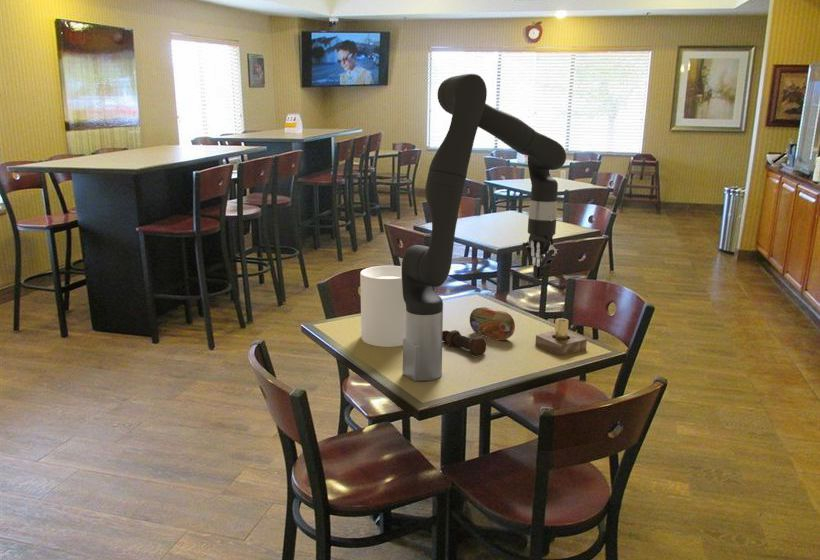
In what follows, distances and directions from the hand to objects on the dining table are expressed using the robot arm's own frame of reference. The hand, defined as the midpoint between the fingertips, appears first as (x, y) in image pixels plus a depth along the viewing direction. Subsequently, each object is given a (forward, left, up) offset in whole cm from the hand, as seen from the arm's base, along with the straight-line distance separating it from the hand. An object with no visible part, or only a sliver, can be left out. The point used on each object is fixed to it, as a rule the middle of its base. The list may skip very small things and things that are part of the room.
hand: (538, 278), depth 183 cm
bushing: (+6, -4, -20) cm, 21 cm away
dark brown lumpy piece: (-19, +10, -20) cm, 29 cm away
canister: (-32, +28, -20) cm, 47 cm away
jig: (+6, -5, -20) cm, 21 cm away
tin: (-5, +13, -20) cm, 25 cm away
